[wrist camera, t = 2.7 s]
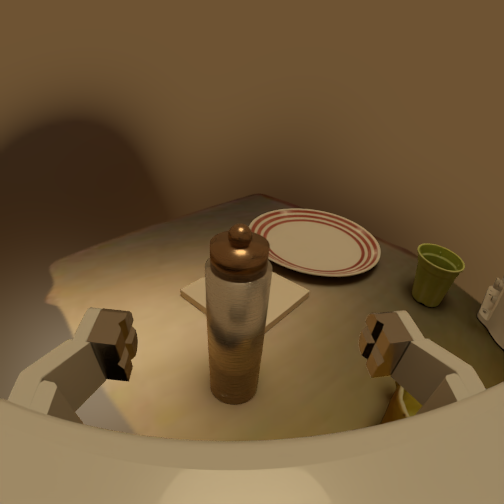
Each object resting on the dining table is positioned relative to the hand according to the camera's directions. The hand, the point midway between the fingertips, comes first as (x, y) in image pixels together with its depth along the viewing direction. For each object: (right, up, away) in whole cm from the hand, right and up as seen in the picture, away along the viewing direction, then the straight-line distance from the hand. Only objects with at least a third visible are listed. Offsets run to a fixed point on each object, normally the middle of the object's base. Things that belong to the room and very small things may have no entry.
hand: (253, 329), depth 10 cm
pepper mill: (-2, -12, +21) cm, 25 cm away
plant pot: (+31, -6, +37) cm, 49 cm away
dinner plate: (+13, +3, +51) cm, 53 cm away
